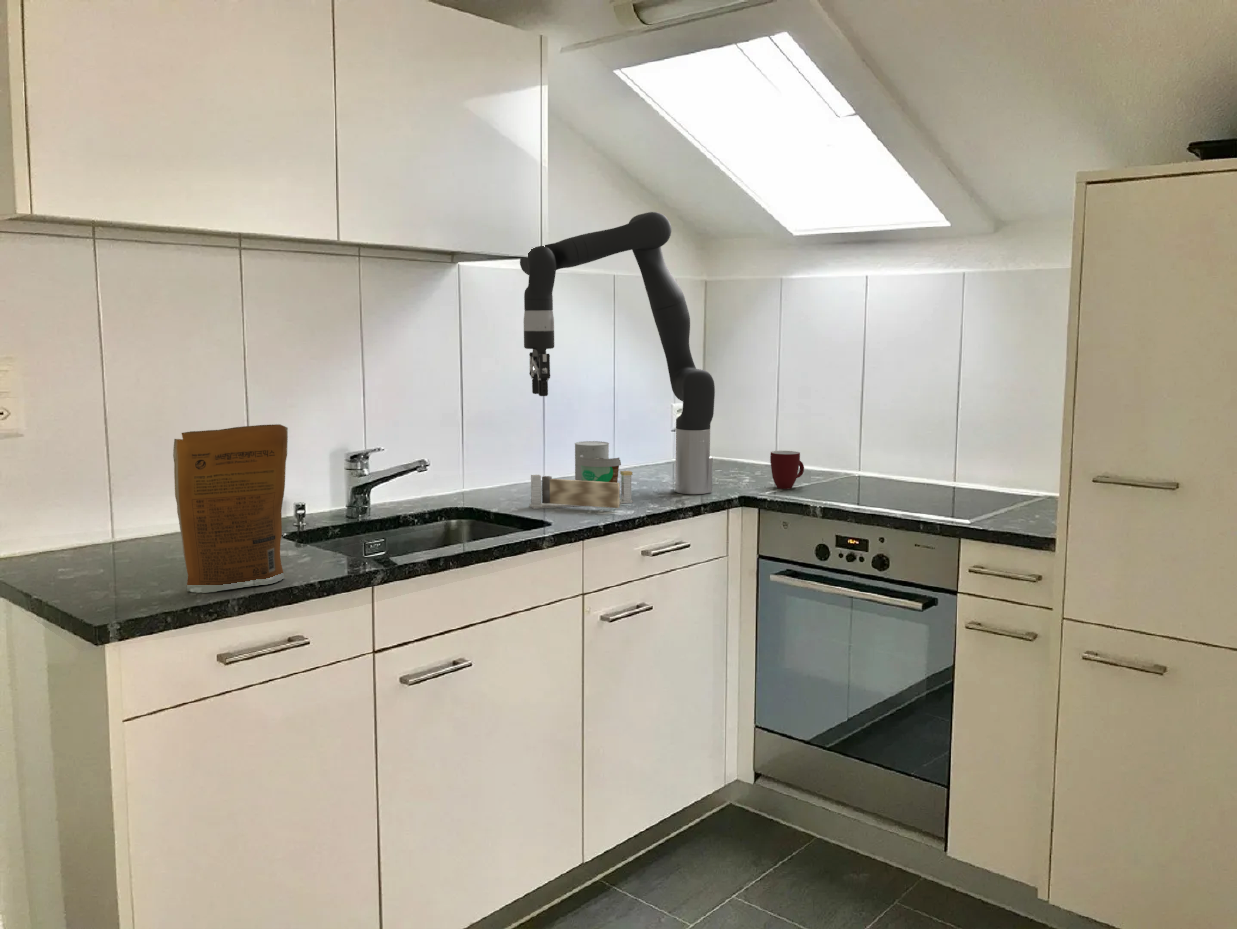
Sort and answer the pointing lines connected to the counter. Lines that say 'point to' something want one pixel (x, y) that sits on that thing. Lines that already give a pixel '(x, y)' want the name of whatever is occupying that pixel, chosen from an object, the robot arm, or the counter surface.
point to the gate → (580, 492)
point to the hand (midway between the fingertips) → (540, 394)
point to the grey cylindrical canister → (589, 453)
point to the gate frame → (537, 505)
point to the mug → (785, 468)
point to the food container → (599, 469)
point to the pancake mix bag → (231, 502)
